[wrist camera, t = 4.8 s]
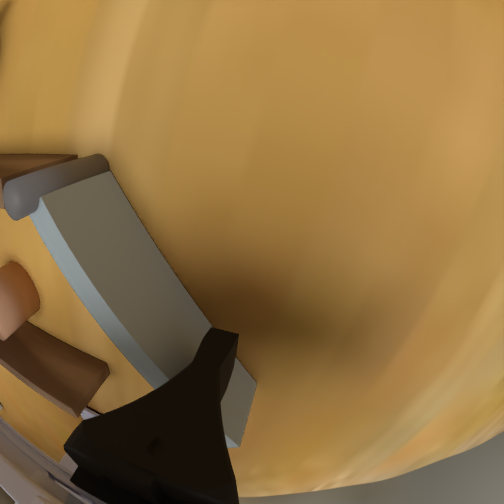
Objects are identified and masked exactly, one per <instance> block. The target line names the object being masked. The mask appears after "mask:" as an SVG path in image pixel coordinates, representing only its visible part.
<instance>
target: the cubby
mask: <svg viewBox="0 0 504 504" xmlns="http://www.w3.org/2000/svg"><path fill="white" fill-rule="evenodd" d="M76 159H77V155H60V154H0V208H3V209H5V205H4V201H3V189H4V185H5V183H6V182H7V181H10V180H12V179H15V178H18V177H21V176H24V175H26V174H29V173H32V172H35V171H38V170H42V169H45V168H48V167H51V166H55V165H58V164H61V163H65V162H68V161H72V160H76ZM0 364H1V365H2V366H3V367H5V368H6V369H7V370H8V371H9V372H11V373H12V374H13V375H14V376H16V377H17V378H18V379H20V380H21V381H22V382H23V383H25V384H26V385H28V386H29V387H30V388H32V389H33V390H34V391H36V392H37V393H39V394H40V395H41V396H43V397H44V398H46V399H47V400H49V401H50V402H52V403H53V404H55V405H56V406H58V407H60V408H61V409H63V410H64V411H66V412H68V413H69V414H71V415H73V416H74V417H76V418H78V417H79V416H80V414H81V413H82V412H83V410H84V409H85V407H86V406H87V405H88V403H89V402H90V400H91V399H92V398H93V396H94V395H95V393H96V392H97V391H98V389H99V388H100V387H101V385H102V384H103V382H104V381H105V380H106V378H107V377H108V376H109V374H110V373H109V370H108V366H107V363H105V362H103V361H101V360H98V359H96V358H94V357H92V356H90V355H88V354H86V353H84V352H82V351H80V350H78V349H76V348H74V347H72V346H70V345H68V344H66V343H64V342H62V341H60V340H58V339H57V338H55V337H53V336H51V335H49V334H48V333H46V332H44V331H42V330H41V329H39V328H37V327H35V326H34V325H32V324H30V323H29V322H27V321H26V322H25V323H23V324H22V325H21V326H20V327H19V328H18V329H17V330H16V331H15V332H13V333H12V334H11V335H10V336H9V337H8V338H7V339H6V340H5V341H3V340H0Z"/></svg>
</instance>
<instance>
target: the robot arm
mask: <svg viewBox="0 0 504 504" xmlns="http://www.w3.org/2000/svg"><path fill="white" fill-rule="evenodd" d="M238 337H239V334H236V333H232V332H228V331H224V330H220V329H216V328H213V327H211V328H210V329H209V330H208V332H207V333H206V334H205V336H204V337H203V339H202V341H201V343H200V346H199V348H198V350H197V352H196V355H195V357H194V359H193V361H192V363H190V364H189V365H188V366H187V367H186V368H184V369H183V370H182V371H181V372H179V373H178V374H177V375H176V376H174V377H173V378H172V379H170V380H169V381H167V382H166V383H164V384H163V385H161V386H160V387H158V388H157V389H155V390H154V391H152V392H150V393H148V394H147V395H145V396H143V397H141V398H139V399H137V400H135V401H133V402H131V403H129V404H127V405H124V406H122V407H120V408H118V409H115V410H113V411H110V412H107V413H104V414H101V415H100V414H98V413H96V412H94V411H92V410H90V409H88V408H86V407H85V409H84V410H83V412H82V413H81V416H82V418H83V421H82V422H81V423H80V424H79V425H78V426H77V427H76V429H75V430H74V431H73V432H72V434H71V435H70V437H69V438H68V440H67V441H66V443H65V444H64V450H65V452H66V453H65V455H64V456H63V458H62V459H61V461H60V462H59V463H58V462H56V461H55V460H54V459H52V458H51V457H49V456H48V455H47V454H45V453H44V452H42V451H41V450H40V449H38V448H37V447H36V446H35V445H33V444H32V443H31V442H30V441H28V440H27V439H26V438H25V437H23V436H22V435H21V434H20V433H19V432H17V431H16V430H15V429H14V428H13V427H12V426H10V425H9V424H8V423H7V422H6V421H5V420H4V419H3V418H2V417H1V416H0V486H1V487H2V488H3V489H4V490H5V491H6V493H7V494H8V495H9V496H11V498H12V499H13V500H14V501H15V504H239V500H238V492H237V486H236V479H235V475H234V472H233V469H232V465H231V461H230V457H229V453H228V449H227V445H226V439H225V434H224V428H223V421H222V413H221V401H222V399H223V396H224V394H225V392H226V390H227V387H228V384H229V381H230V378H231V375H232V372H233V369H234V363H235V356H236V350H237V344H238Z"/></svg>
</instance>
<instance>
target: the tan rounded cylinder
mask: <svg viewBox="0 0 504 504" xmlns="http://www.w3.org/2000/svg"><path fill="white" fill-rule="evenodd" d="M39 308H40V299H39V295H38V292H37V290H36V287H35V285H34V283H33V281H32V279H31V278H30V276H29V275H28V273H27V272H26V271H25V269H24V268H23V267H22V266H21V265H20V264H18V263H17V262H15V261H10V262H8V263H7V264H5V265H4V266H2V267H1V268H0V340H3V341H5V340H6V339H7V338H8V337H9V336H10V335H11V334H12V333H13V332H15V331H16V330H17V329H18V328H19V327H20V326H21V325H22V324H23V323H25V322H26V321H27V320H28V319H29V318H30V317H31V316H33V315H34V314H35V313H36V312H37V311H38V310H39Z"/></svg>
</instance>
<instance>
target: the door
mask: <svg viewBox="0 0 504 504" xmlns="http://www.w3.org/2000/svg"><path fill="white" fill-rule="evenodd" d="M3 201H4V205H5V209H6V211H7V213H8V215H9V216H10V217H11V218H12V219H13V220H16V221H17V220H19V219H21V218H23V217H25V216H27V215H29V216H30V218H31V220H32V222H33V223H34V225H35V227H36V229H37V231H38V233H39V235H40V236H41V238H42V240H43V242H44V243H45V245H46V247H47V249H48V250H49V252H50V254H51V255H52V257H53V259H54V260H55V262H56V264H57V265H58V267H59V268H60V270H61V271H62V273H63V275H64V276H65V278H66V279H67V281H68V282H69V284H70V285H71V287H72V288H73V290H74V291H75V293H76V294H77V295H78V297H79V298H80V300H81V301H82V303H83V304H84V305H85V307H86V308H87V309H88V311H89V312H90V314H91V315H92V316H93V318H94V319H95V320H96V322H97V323H98V324H99V325H100V327H101V328H102V329H103V331H104V332H105V333H106V334H107V336H108V337H109V338H110V339H111V341H112V342H113V343H114V344H115V345H116V347H117V348H118V349H119V350H120V351H121V353H122V354H123V355H124V356H125V357H126V358H127V360H128V361H129V362H130V363H131V364H132V365H133V366H134V368H135V369H136V370H137V371H138V372H139V373H140V374H141V375H142V376H143V377H144V378H145V380H146V381H147V382H148V383H149V384H150V385H151V386H152V387H153V388H154V389H157V388H158V387H160V386H161V385H163V384H164V383H166V382H167V381H169V380H170V379H172V378H173V377H174V376H176V375H177V374H178V373H179V372H181V371H182V370H183V369H184V368H186V367H187V366H188V365H189V364H190V363H192V361H193V359H194V357H195V355H196V352H197V350H198V348H199V346H200V343H201V341H202V339H203V337H204V336H205V334H206V333H207V332H208V330H209V329H210V328H211V327H213V326H212V325H211V324H210V322H209V321H208V320H207V318H206V317H205V316H204V314H203V313H202V311H201V310H200V309H199V307H198V306H197V305H196V303H195V302H194V300H193V299H192V298H191V296H190V295H189V293H188V292H187V290H186V289H185V288H184V286H183V285H182V283H181V282H180V280H179V279H178V277H177V276H176V275H175V273H174V272H173V270H172V269H171V267H170V266H169V264H168V263H167V261H166V260H165V258H164V257H163V255H162V254H161V252H160V251H159V249H158V248H157V246H156V245H155V243H154V241H153V240H152V238H151V237H150V235H149V234H148V232H147V231H146V229H145V227H144V226H143V224H142V223H141V221H140V219H139V218H138V216H137V215H136V213H135V211H134V210H133V208H132V206H131V205H130V203H129V201H128V200H127V198H126V196H125V195H124V193H123V191H122V190H121V188H120V186H119V185H118V183H117V181H116V179H115V178H114V176H113V174H112V172H111V171H109V165H108V162H107V160H106V158H105V157H104V156H102V155H100V154H95V155H91V156H87V157H83V158H79V159H76V160H72V161H68V162H65V163H61V164H58V165H55V166H51V167H48V168H45V169H42V170H38V171H35V172H32V173H29V174H26V175H24V176H21V177H18V178H15V179H12V180H10V181H7V182H6V183H5V185H4V189H3ZM256 386H257V383H256V382H255V380H254V379H253V378H252V377H251V375H250V374H249V373H248V372H247V370H246V369H245V368H244V367H243V365H242V364H241V363H240V362H239V360H238V359H237V358H236V357H235V363H234V369H233V372H232V375H231V378H230V381H229V384H228V387H227V390H226V392H225V394H224V396H223V399H222V401H221V413H222V421H223V428H224V434H225V439H226V445H227V448H233V447H240V444H241V441H242V437H243V434H244V430H245V426H246V423H247V419H248V416H249V412H250V408H251V405H252V401H253V397H254V394H255V390H256Z"/></svg>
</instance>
